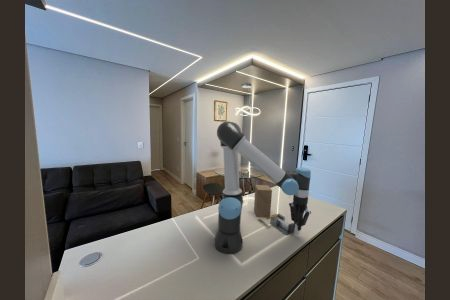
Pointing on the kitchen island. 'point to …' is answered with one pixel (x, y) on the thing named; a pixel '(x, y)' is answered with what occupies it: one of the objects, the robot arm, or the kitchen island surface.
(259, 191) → the wooden block
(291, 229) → the gauge slider with pointer
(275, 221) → the gauge housing
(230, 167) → the robot arm
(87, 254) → the kitchen island surface
